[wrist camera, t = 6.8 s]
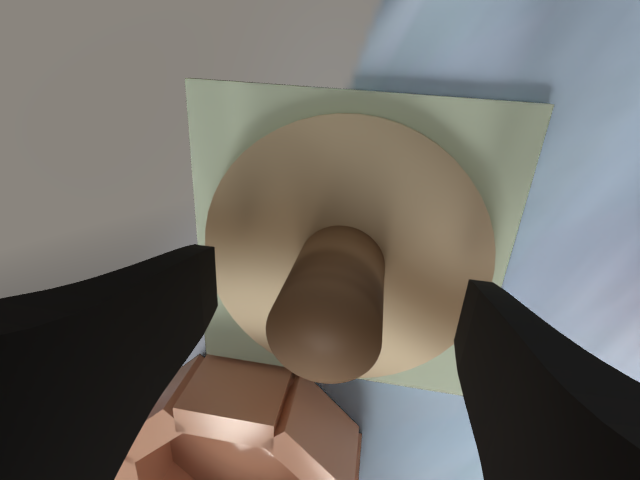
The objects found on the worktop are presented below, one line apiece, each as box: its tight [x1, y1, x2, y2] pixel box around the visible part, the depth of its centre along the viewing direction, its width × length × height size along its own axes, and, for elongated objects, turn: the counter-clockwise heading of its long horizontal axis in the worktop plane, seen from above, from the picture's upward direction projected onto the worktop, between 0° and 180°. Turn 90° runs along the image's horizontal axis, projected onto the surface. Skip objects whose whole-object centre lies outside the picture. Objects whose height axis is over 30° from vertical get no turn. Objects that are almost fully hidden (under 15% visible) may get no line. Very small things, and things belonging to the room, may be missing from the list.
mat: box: [185, 78, 554, 396], centre depth 13 cm, size 10×10×1 cm
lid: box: [205, 113, 496, 384], centre depth 11 cm, size 9×9×4 cm
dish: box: [114, 354, 362, 480], centre depth 17 cm, size 10×10×3 cm
